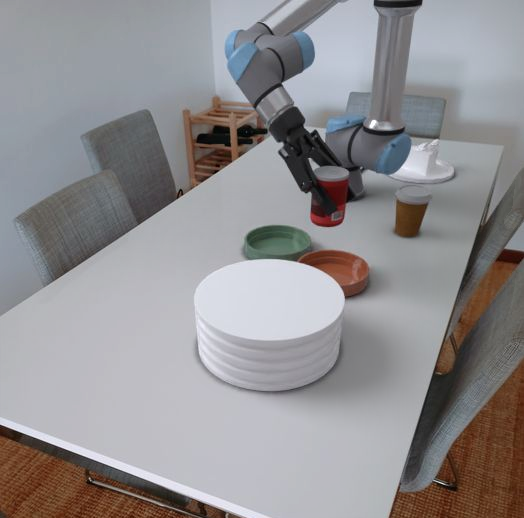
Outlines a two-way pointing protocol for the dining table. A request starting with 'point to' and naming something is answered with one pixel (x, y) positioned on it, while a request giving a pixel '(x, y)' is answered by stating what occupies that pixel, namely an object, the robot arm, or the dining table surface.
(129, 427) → the dining table surface
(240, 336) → the plate stack
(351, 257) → the terracotta bowl
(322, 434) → the dining table surface
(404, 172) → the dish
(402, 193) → the disposable coffee cup
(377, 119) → the robot arm
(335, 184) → the canned food
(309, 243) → the sage bowl
